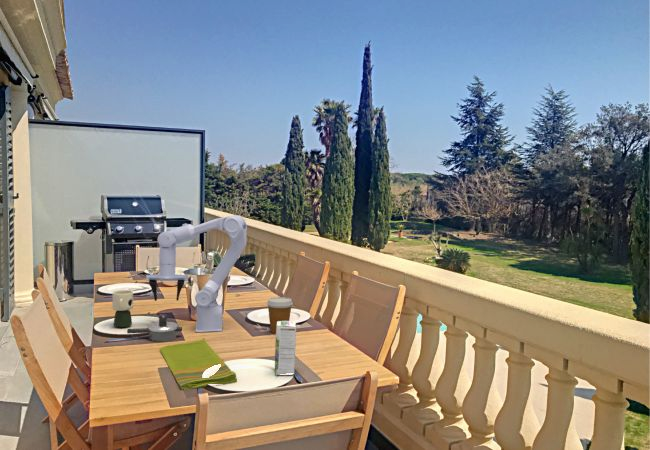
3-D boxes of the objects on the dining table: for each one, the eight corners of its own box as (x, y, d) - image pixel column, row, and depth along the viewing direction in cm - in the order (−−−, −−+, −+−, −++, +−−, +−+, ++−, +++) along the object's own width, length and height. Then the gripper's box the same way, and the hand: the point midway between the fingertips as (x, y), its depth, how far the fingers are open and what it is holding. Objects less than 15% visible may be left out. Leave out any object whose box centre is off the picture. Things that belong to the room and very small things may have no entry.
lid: (179, 325, 184) (179, 311, 184) (176, 333, 174) (176, 318, 174) (150, 326, 182) (150, 312, 182) (145, 334, 172) (145, 319, 172)
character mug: (131, 330, 186) (131, 294, 185) (110, 331, 184) (109, 295, 183) (134, 322, 197) (134, 288, 196) (115, 322, 195) (114, 289, 194)
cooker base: (182, 332, 185) (182, 323, 184) (181, 340, 176) (182, 330, 176) (129, 335, 180) (129, 325, 180) (125, 342, 172) (125, 332, 171)
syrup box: (274, 368, 152) (275, 320, 151) (294, 368, 152) (296, 320, 151) (274, 376, 146) (275, 325, 145) (295, 376, 147) (296, 326, 145)
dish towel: (181, 393, 134) (181, 381, 134) (158, 351, 166) (158, 342, 165) (238, 384, 141) (238, 372, 140) (206, 346, 173) (206, 336, 172)
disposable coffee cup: (296, 330, 192) (297, 298, 191) (284, 336, 184) (284, 303, 183) (274, 326, 196) (275, 295, 195) (261, 332, 188) (261, 300, 187)
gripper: (145, 265, 183) (144, 302, 184) (187, 265, 187) (186, 302, 188) (147, 262, 190) (146, 298, 191) (187, 262, 193) (187, 297, 195)
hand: (166, 300), depth 190 cm, fingers open, 7 cm apart
